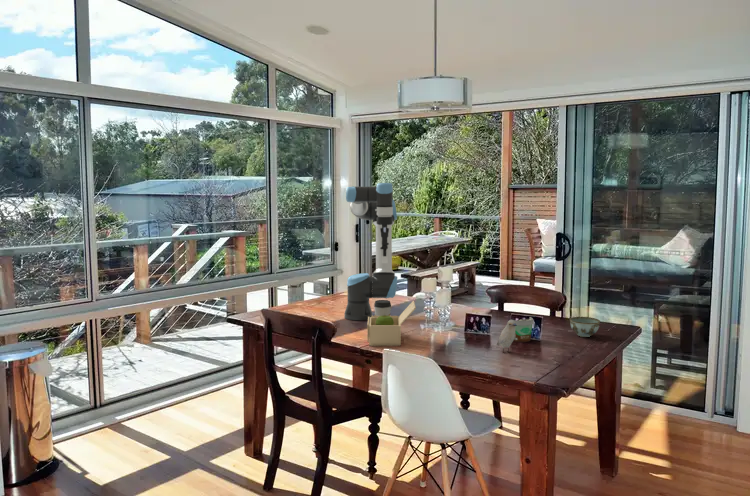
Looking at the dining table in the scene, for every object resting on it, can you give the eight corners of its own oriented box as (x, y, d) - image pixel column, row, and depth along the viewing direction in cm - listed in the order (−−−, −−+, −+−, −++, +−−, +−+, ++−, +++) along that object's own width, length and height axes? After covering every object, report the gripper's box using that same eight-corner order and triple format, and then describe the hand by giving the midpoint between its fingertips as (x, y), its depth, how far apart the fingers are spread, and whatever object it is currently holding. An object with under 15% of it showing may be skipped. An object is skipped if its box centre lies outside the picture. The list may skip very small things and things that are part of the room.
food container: (518, 344, 279) (518, 322, 278) (509, 340, 285) (509, 319, 284) (539, 340, 285) (539, 319, 284) (530, 337, 290) (530, 316, 289)
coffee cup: (389, 334, 298) (389, 303, 296) (372, 333, 299) (372, 302, 298) (392, 329, 306) (392, 300, 304) (376, 329, 308) (375, 299, 306)
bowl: (568, 338, 289) (568, 321, 288) (569, 331, 301) (570, 315, 300) (599, 341, 284) (600, 323, 283) (599, 334, 296) (600, 317, 296)
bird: (511, 357, 258) (512, 322, 256) (492, 349, 270) (493, 315, 269) (521, 356, 260) (522, 321, 258) (502, 348, 272) (502, 314, 271)
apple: (372, 338, 288) (372, 313, 287) (389, 336, 292) (388, 312, 290) (380, 342, 280) (380, 317, 279) (397, 340, 284) (397, 315, 283)
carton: (368, 335, 296) (368, 315, 294) (399, 335, 295) (399, 315, 294) (367, 346, 276) (367, 325, 275) (400, 346, 276) (400, 325, 275)
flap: (399, 316, 292) (413, 300, 292) (400, 316, 293) (414, 301, 292) (400, 324, 277) (415, 307, 276) (401, 324, 277) (416, 308, 276)
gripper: (376, 213, 303) (376, 256, 306) (376, 218, 279) (376, 265, 281) (392, 213, 303) (392, 256, 306) (393, 218, 278) (393, 265, 281)
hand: (384, 260), depth 294 cm, fingers open, 13 cm apart
